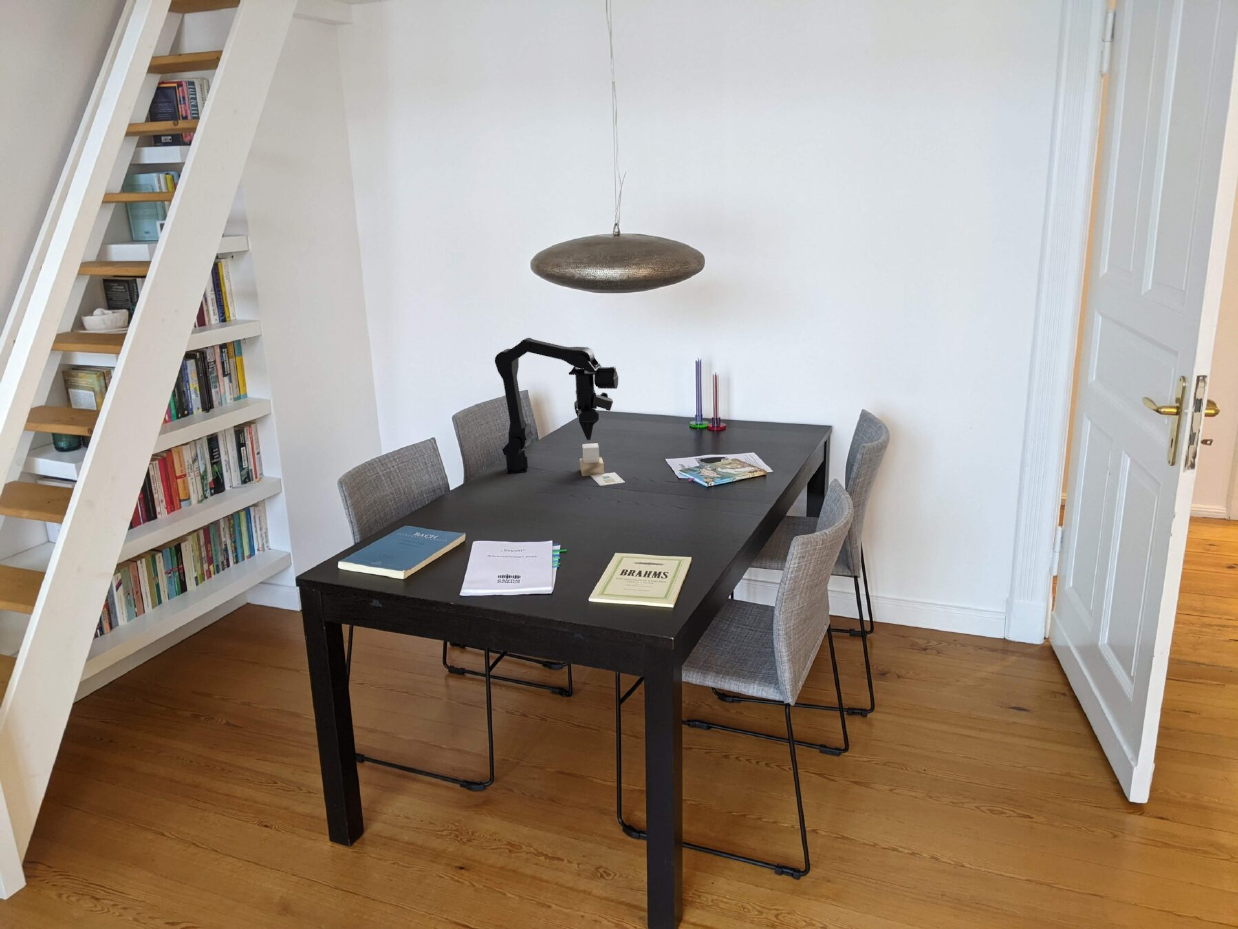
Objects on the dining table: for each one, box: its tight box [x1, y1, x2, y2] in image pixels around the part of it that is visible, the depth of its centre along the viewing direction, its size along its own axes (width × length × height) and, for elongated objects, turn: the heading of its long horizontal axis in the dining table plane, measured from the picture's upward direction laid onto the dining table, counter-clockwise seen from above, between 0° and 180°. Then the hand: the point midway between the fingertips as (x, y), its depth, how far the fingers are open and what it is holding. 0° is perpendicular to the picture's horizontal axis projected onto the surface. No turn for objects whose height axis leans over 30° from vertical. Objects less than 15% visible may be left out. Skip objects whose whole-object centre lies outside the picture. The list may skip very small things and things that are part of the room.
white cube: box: [582, 442, 600, 463], centre depth 303 cm, size 5×5×5 cm
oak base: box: [579, 456, 605, 477], centre depth 304 cm, size 7×7×4 cm
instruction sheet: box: [590, 472, 626, 487], centre depth 296 cm, size 8×11×1 cm
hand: (587, 436), depth 301 cm, fingers open, 9 cm apart
